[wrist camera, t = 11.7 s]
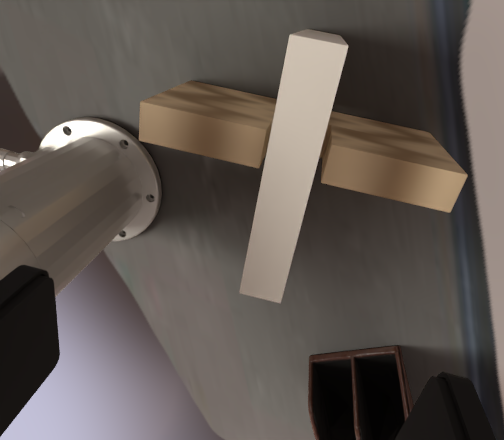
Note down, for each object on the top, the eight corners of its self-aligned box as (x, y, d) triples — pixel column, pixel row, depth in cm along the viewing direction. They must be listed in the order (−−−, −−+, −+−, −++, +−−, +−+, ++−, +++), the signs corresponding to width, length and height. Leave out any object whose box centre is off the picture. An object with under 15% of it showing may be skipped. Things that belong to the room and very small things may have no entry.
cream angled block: (307, 28, 30) (289, 34, 16) (340, 35, 29) (348, 45, 16) (272, 194, 36) (239, 293, 23) (298, 200, 36) (280, 303, 23)
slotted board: (188, 110, 34) (138, 140, 25) (191, 80, 33) (140, 101, 24) (417, 161, 33) (450, 212, 24) (429, 132, 31) (468, 175, 23)
